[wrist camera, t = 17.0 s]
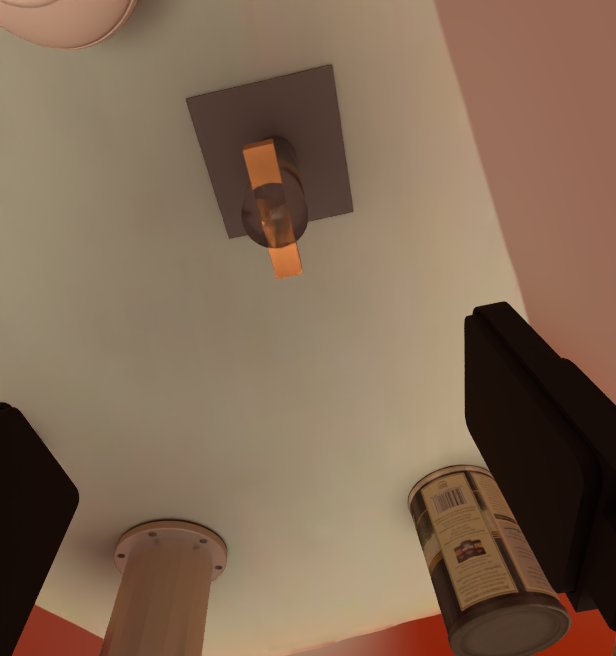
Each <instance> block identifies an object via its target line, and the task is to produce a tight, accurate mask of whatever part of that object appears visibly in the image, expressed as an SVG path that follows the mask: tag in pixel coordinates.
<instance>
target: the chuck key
mask: <svg viewBox="0 0 616 656" xmlns="http://www.w3.org/2000/svg"><path fill="white" fill-rule="evenodd" d="M243 154H244V158H245V161H246V165H247V169H248V173H249V179H248V183H247V187H246V192H245V196H244V201H243V205H242V210H241V220H242V224H243V227H244V229H245V231H246V233H247V234H248V236H249V237H250V238H251V239H252V240H253V241H255V242H256V243H258V244H259V245H261V246H264V247H267V248H269V252H270V256H271V260H272V264H273V267H274V271H275V275H276V279H279V278H284V277H288V276H293V275H298V274H302V266H301V260H300V255H299V251H298V247H297V242H296V241H297V240H298V239H299V238H300V237H301V236H302V235H303V233H304V231H305V229H306V227H307V223H308V209H307V204H306V199H305V194H304V189H303V185H302V180H301V175H300V170H299V165H298V160H297V155H296V151H295V149H294V147H293V146H292V144H291V143H290V142H289V141H288V140H286V139H285V138H283V137H279V136H270V137H267V138H265V139H263V140H262V141H260V142H255V143H251V144H246V145H244V148H243Z"/></svg>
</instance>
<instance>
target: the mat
mask: <svg viewBox="0 0 616 656" xmlns="http://www.w3.org/2000/svg"><path fill="white" fill-rule="evenodd" d="M186 102H187V105H188V109H189V112H190V115H191V118H192V121H193V125H194V128H195V131H196V134H197V137H198V141H199V144H200V147H201V150H202V153H203V157H204V160H205V163H206V166H207V169H208V173H209V176H210V179H211V182H212V185H213V189H214V192H215V195H216V198H217V201H218V205H219V208H220V211H221V214H222V217H223V221H224V224H225V227H226V230H227V233H228V237H229V239H230V238H235V237H239V236H244V235H248V234H247V233H246V231H245V229H244V227H243V224H242V220H241V210H242V205H243V201H244V196H245V192H246V187H247V183H248V179H249V173H248V169H247V165H246V161H245V158H244V154H243V148H244V145H246V144H251V143H255V142H260V141H262V140H263V139H265V138H267V137H270V136H279V137H283V138H285V139H286V140H288V141H289V142H290V143H291V144H292V146H293V147H294V149H295V151H296V155H297V160H298V165H299V170H300V175H301V180H302V185H303V189H304V194H305V199H306V204H307V209H308V222H309V221H313V220H318V219H322V218H327V217H332V216H336V215H341V214H346V213H350V212H353V205H352V198H351V191H350V184H349V177H348V170H347V164H346V157H345V150H344V143H343V136H342V129H341V122H340V115H339V109H338V102H337V95H336V88H335V81H334V74H333V67H332V65H328V66H324V67H320V68H315V69H311V70H307V71H303V72H298V73H294V74H290V75H286V76H281V77H277V78H273V79H269V80H264V81H260V82H256V83H252V84H247V85H243V86H239V87H235V88H230V89H226V90H222V91H218V92H213V93H209V94H205V95H201V96H196V97H192V98H188V99H186Z"/></svg>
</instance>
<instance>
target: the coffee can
mask: <svg viewBox="0 0 616 656" xmlns="http://www.w3.org/2000/svg"><path fill="white" fill-rule="evenodd" d="M408 507H409V510H410V512H411V514H412V518H413V521H414V524H415V527H416V531H417V534H418V537H419V541H420V544H421V547H422V550H423V553H424V557H425V560H426V563H427V566H428V570H429V573H430V576H431V580H432V583H433V587H434V590H435V593H436V597H437V600H438V604H439V607H440V610H441V613H442V616H443V619H444V623H445V626H446V629H447V633H448V640H449V645H450V648H451V650H452V652H453V653H454V655H456V656H530V655H533V654H536V653H538V652H540V651H543V650H545V649H547V648H548V647H550V646H552V645H553V644H555V643H556V642H558V641H559V640H560V639H562V638H563V637H564V636H565V635H566V633H567V632H568V631H569V629H570V626H571V618H570V616H569V614H568V612H567V610H566V609H565V607H564V606H563V605H562V604H561V602H560V600H559V598H558V596H557V595H556V593H555V591H554V590H553V588H552V587H551V586H550V584H549V582H548V580H547V578H546V577H545V575H544V573H543V571H542V569H541V567H540V565H539V563H538V561H537V559H536V558H535V556H534V554H533V552H532V550H531V548H530V546H529V544H528V542H527V540H526V539H525V537H524V535H523V533H522V531H521V529H520V527H519V525H518V523H517V521H516V520H515V518H514V516H513V514H512V512H511V510H510V508H509V506H508V504H507V502H506V501H505V499H504V497H503V495H502V493H501V491H500V489H499V487H498V485H497V483H496V482H495V480H494V478H493V476H492V474H491V473H490V472H489V471H487V470H485V469H483V468H479V467H475V466H453V467H448V468H445V469H442V470H439V471H436V472H434V473H432V474H430V475H428V476H427V477H425V478H424V479H422V480H421V481H420V482H419V483H418V484H417V485H416V486H415V487H414V488H413V490H412V491H411V493H410V495H409V499H408Z"/></svg>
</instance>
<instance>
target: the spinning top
mask: <svg viewBox="0 0 616 656" xmlns="http://www.w3.org/2000/svg"><path fill="white" fill-rule="evenodd" d="M136 3H137V0H0V26H1V27H3V28H4V29H6V30H7V31H9V32H11V33H12V34H14V35H16V36H18V37H20V38H23V39H25V40H27V41H30V42H32V43H35V44H38V45H41V46H44V47H49V48H54V49H64V50H73V49H81V48H86V47H90V46H92V45H95V44H98V43H100V42H102V41H104V40H106V39H108V38H109V37H111V36H112V35H113V34H115V33H116V32H117V31H118V30H119V29H120V28H121V27H122V26H123V25H124V24H125V22H126V21H127V20H128V18H129V17H130V15H131V13H132V11H133V10H134V7H135V5H136Z"/></svg>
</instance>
